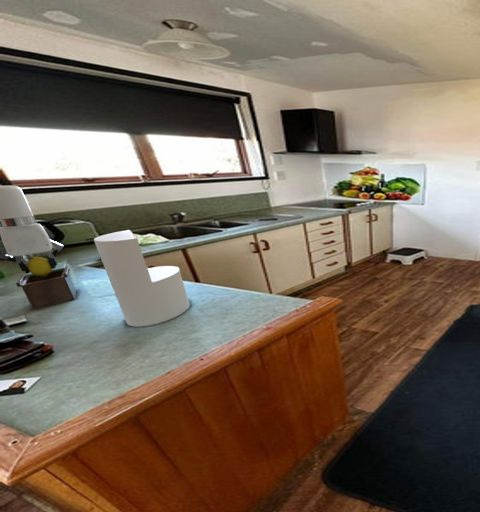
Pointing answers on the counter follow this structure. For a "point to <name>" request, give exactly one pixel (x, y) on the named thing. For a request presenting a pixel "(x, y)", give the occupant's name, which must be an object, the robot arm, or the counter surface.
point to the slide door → (58, 268)
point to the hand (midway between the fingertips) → (41, 269)
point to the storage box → (48, 288)
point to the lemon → (39, 266)
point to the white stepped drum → (141, 281)
